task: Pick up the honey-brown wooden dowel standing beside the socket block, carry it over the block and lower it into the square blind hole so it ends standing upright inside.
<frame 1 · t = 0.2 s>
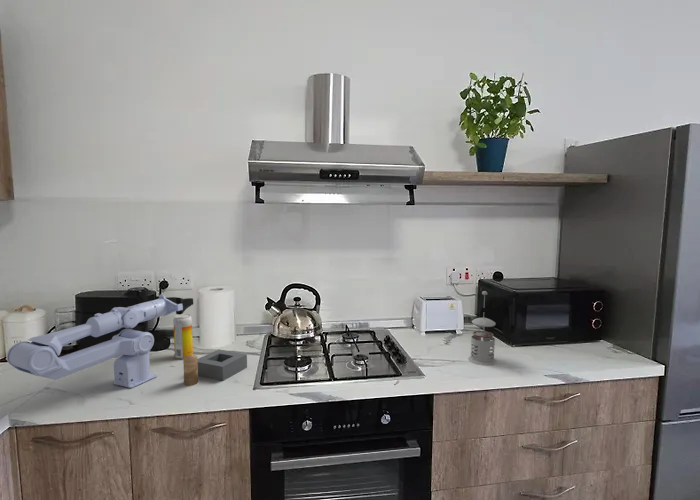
hand: (184, 300, 143), 21 cm above the worktop, tool horizontal, fingers open, 7 cm apart
dowel: (191, 382, 126), on the worktop
french press: (481, 359, 147), on the worktop
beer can: (184, 357, 148), on the worktop
socket block: (220, 370, 135), on the worktop
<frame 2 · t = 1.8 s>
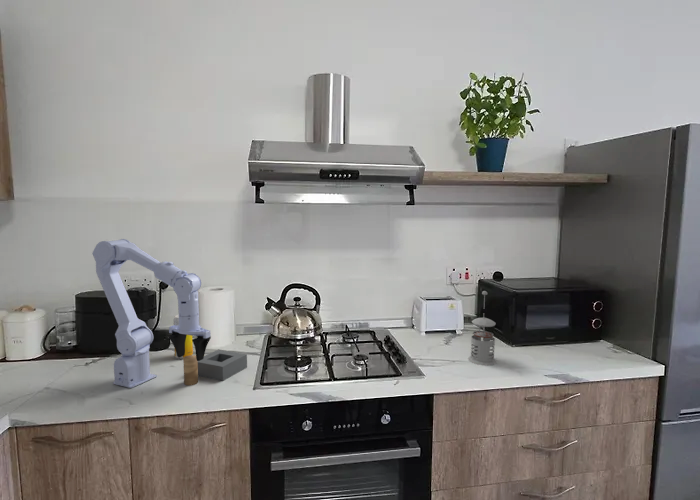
hand: (190, 358, 125), 8 cm above the worktop, tool pointing down, fingers open, 7 cm apart
nothing on the worktop moved.
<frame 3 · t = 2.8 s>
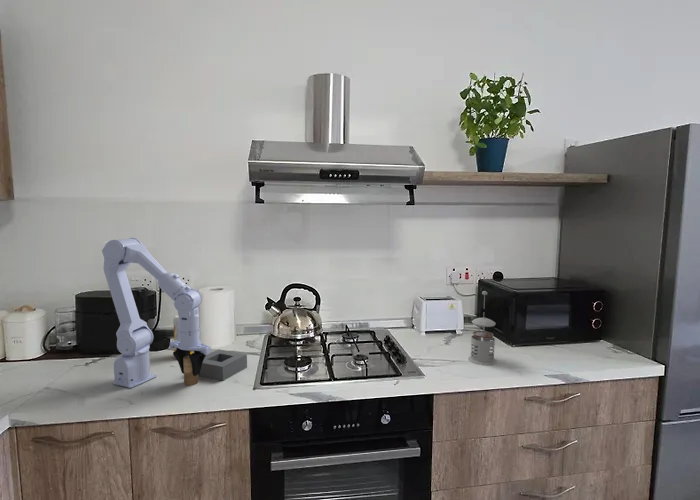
hand: (190, 373, 125), 3 cm above the worktop, tool pointing down, fingers closed on dowel, 4 cm apart
dowel: (191, 382, 126), on the worktop, touching gripper
everything else where it was.
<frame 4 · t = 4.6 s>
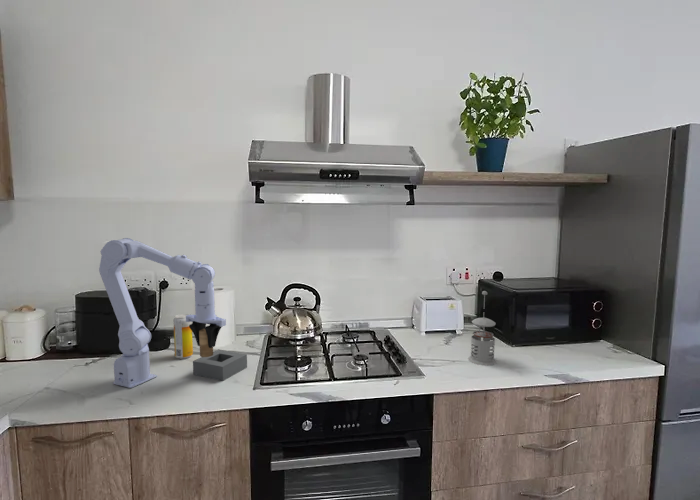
hand: (206, 345, 130), 10 cm above the worktop, tool pointing down, fingers closed on dowel, 4 cm apart
dowel: (206, 354, 130), point 7 cm above the worktop, touching gripper
everything else where it was.
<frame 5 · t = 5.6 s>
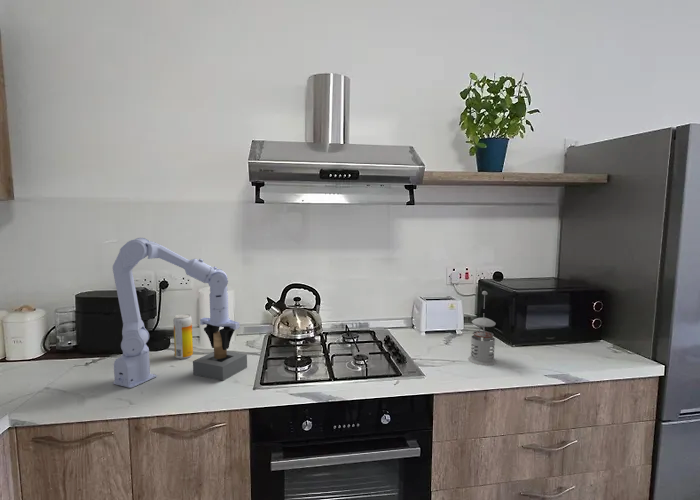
hand: (220, 348, 134), 8 cm above the worktop, tool pointing down, fingers closed on dowel, 4 cm apart
dowel: (220, 356, 135), point 5 cm above the worktop, touching gripper
everything else where it was.
when the fingers open (5 cm above the worktop, at t = 6.5 s): dowel drops 1 cm, resting on socket block.
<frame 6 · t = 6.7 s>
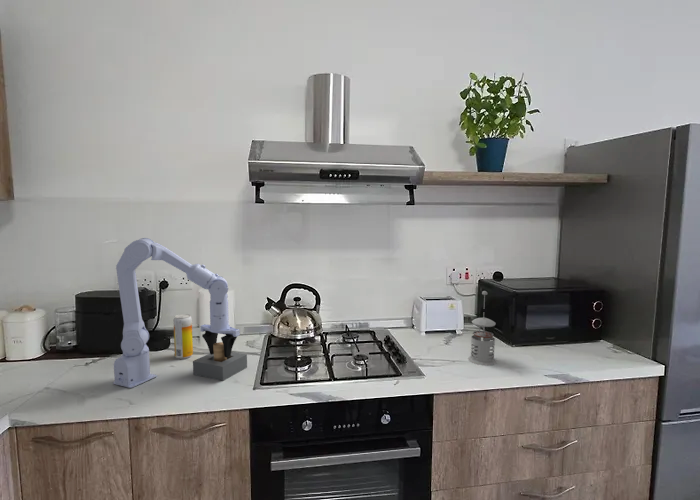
hand: (220, 354, 134), 5 cm above the worktop, tool pointing down, fingers open, 5 cm apart
dowel: (220, 367, 135), point 1 cm above the worktop, touching socket block
everything else where it was.
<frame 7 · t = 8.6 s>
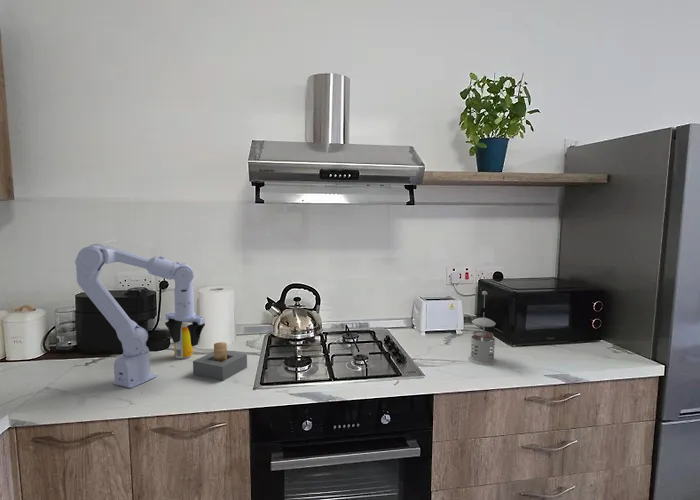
hand: (185, 343, 132), 10 cm above the worktop, tool pointing down, fingers open, 7 cm apart
nothing on the worktop moved.
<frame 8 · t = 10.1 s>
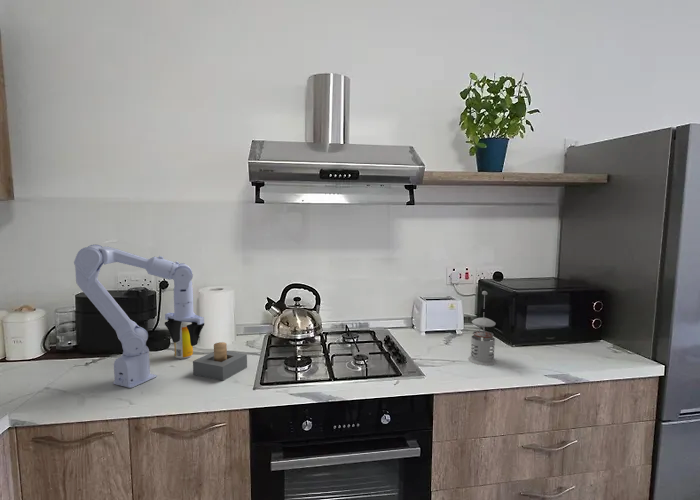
hand: (185, 343, 132), 10 cm above the worktop, tool pointing down, fingers open, 7 cm apart
nothing on the worktop moved.
at the end: dowel 0.0 cm from the target spot, point 1.0 cm above the worktop; dowel tilted 1°; the gripper is holding nothing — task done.
